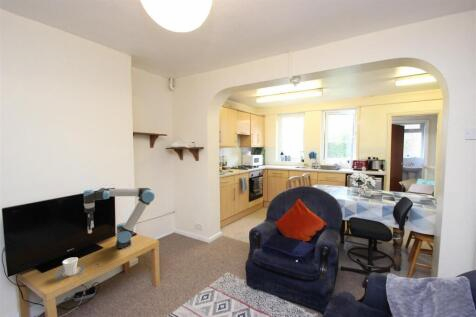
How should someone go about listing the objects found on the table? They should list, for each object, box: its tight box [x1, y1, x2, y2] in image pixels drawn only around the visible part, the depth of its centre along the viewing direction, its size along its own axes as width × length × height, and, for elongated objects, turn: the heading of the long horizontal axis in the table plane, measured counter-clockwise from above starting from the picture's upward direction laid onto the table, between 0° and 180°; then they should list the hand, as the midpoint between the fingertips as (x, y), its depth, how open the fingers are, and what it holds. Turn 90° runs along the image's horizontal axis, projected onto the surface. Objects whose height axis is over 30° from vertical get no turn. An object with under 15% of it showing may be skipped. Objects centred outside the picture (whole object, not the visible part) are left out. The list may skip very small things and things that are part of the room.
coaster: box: [61, 267, 81, 278], centre depth 180 cm, size 13×13×1 cm
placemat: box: [53, 264, 86, 281], centre depth 181 cm, size 18×16×1 cm
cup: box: [61, 256, 79, 276], centre depth 177 cm, size 10×10×11 cm
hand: (90, 230), depth 202 cm, fingers open, 13 cm apart
